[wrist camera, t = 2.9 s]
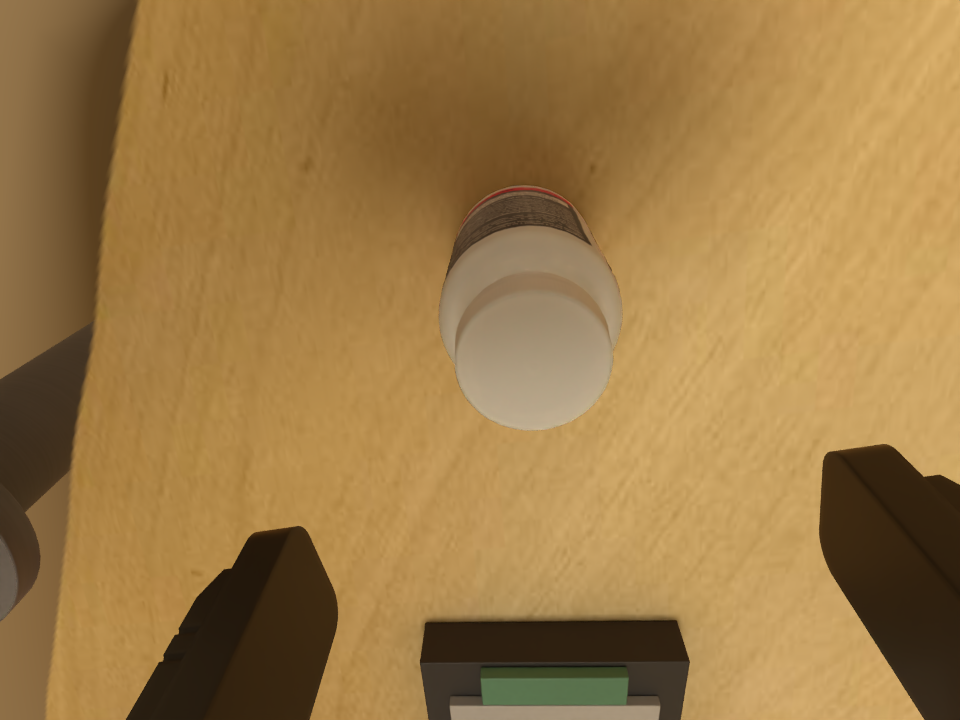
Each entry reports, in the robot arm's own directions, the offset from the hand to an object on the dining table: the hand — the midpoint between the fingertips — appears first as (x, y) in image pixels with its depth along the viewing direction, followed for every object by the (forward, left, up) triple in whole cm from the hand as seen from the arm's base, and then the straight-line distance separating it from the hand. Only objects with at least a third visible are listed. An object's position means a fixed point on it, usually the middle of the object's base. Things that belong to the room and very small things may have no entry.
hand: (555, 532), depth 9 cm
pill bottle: (0, 0, -16) cm, 16 cm away
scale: (+18, -23, -16) cm, 33 cm away
